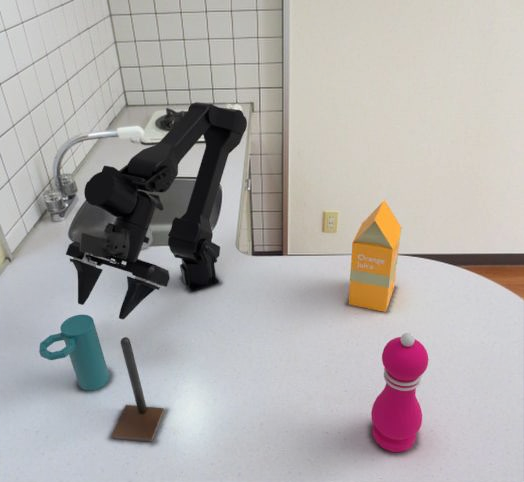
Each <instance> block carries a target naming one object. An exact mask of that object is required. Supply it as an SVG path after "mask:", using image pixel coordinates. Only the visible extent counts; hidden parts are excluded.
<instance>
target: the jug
mask: <svg viewBox="0 0 524 482" xmlns="http://www.w3.org/2000/svg"><path fill="white" fill-rule="evenodd" d="M99 338H100V337H99V334H98V331H97V328H96V324H95V321H94V318H93V317H92V316H91V315H88V314H76V315H72V316H70V317H68V318H67V319H65V320H64V321H63V322H62V323H61V325H60V332H59V333H55V334H51V335H49V336H48V337H46V338H45V339H44V340H42V341H41V342H40V343H39V349H38V350H39V351H38V353H39V355H40V357H42V358H44V359H46V360H49V361H56V360H59V359H65V358H67V357H69V359H70V362H71V365H72V368H73V371H74V374H75V377H76V380H77V382H78V383H77V384H78V386H79V387H80V388H81V389H82V390H84V391H88V392H91V391H96V390H99V389H101V388H103V387H105V385H107V384H108V382H109V380H110V372H109V368H108V365H107V362H106V359H105V355H104V352H103V349H102V344H101V342H100V339H99ZM61 341H64V345H65V347H63V348H62V349H61V350H55V351H50V350H48V348H49V347H50V346H51V345H53V344H54V343H56V342H61Z"/></svg>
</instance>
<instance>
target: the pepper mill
mask: <svg viewBox="0 0 524 482" xmlns="http://www.w3.org/2000/svg"><path fill="white" fill-rule="evenodd" d="M381 362H382V365H383V379H384V381H385V386H384V388H383V390H382V391H381V392H380V393H379V394H378V395H377V397H376V398H375V400H374V402H373V404H372V407H371V411H370V412H371V413H370V415H371V416H370V417H371V421H372V424H373V425H372V436H373V439H374V441H375V442H376V444H377V445H379V447H381V448H382V449H384V450H386V451H389V452H392V453H402V452H406V451H408V450H409V449H411V448H412V447H413V446H414V444H415V441H416V437H417V434H418V432H419V431H420V429H421V427H422V425H423V424H422V423H423V412H422V407H421V405H420V402H419V401H418V398H417V396H416V391H417V388H418V387H419V386H420V385H421V382H422V377H423V374H425V372H426V371H427V368H428V366H429V354H428V351H427V349H426V347H425V346H424V344H422V343H421V342H420V341H419V340H417V338H416V339H415V337H414V335H413V334H412V333H409V332H405V333H403V334H401V336H397V337H395V338H392V339H390V340H389V341H388V342H387V343H386V345H384V348H383V350H382V353H381Z"/></svg>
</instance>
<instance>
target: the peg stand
mask: <svg viewBox="0 0 524 482" xmlns="http://www.w3.org/2000/svg"><path fill="white" fill-rule="evenodd" d="M120 346H121V347H120V348H121V351H122V354H123V359H124V362H125V366H126V370H127V373H128V378H129V383H130V385H131V389H132V393H133V397H134V401H135V404H136V405H132V404H131V405H130V404H126V405H125V406H124V408H123V410H122V412H121V415H120V417H119V419H118V421H117V423H116V425H115V427H114V430H113V432H112V434H111V437H112V438H113V439H119V440H127V441H128V440H129V441H139V442H149V443H153V442H154V439H155V437H156V434H157V431H158V428H159V426H160V424H161V422H162V418H163V416H164V414H165V408H164V407H153V406H147V404H146V400H145V396H144V391H143V387H142V383H141V378H140V375H139V370H138V367H137V363H136V358H135V353H134V350H133V346H132V341H131V339H130V338H129V337H128V336H124V337H122V338H121V339H120Z"/></svg>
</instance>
